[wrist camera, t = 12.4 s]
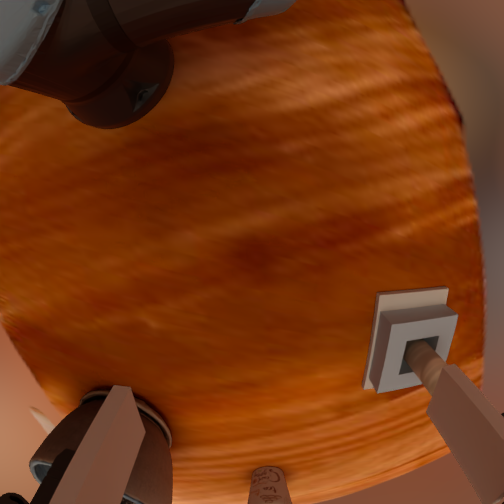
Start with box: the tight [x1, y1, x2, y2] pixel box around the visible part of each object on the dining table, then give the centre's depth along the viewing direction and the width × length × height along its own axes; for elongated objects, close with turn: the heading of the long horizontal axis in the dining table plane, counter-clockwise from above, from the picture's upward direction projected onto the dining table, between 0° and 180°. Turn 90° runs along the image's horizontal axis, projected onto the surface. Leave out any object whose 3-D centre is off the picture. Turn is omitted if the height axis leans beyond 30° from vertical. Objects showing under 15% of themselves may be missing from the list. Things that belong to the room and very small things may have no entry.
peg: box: [403, 338, 449, 396], centre depth 31 cm, size 4×4×16 cm
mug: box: [248, 467, 292, 504], centre depth 43 cm, size 8×13×10 cm, turn 173°
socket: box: [362, 286, 458, 393], centre depth 37 cm, size 16×12×5 cm
